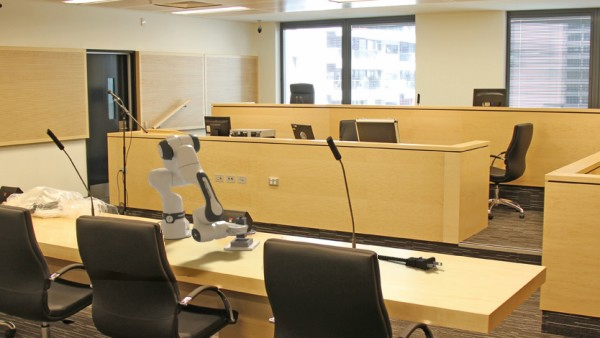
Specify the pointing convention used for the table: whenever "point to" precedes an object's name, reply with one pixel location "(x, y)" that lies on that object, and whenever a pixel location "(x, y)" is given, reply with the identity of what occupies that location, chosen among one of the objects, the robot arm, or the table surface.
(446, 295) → the table surface
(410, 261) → the electrical plug
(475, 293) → the table surface
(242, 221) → the dark grey square bottle
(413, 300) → the table surface
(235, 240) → the socket
